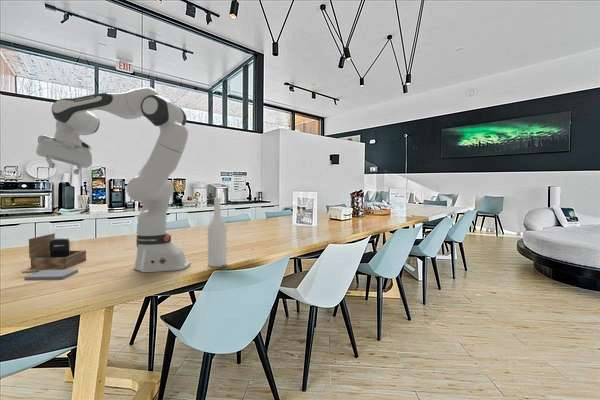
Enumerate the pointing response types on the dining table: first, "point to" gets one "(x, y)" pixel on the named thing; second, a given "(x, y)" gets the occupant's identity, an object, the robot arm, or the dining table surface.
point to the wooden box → (42, 257)
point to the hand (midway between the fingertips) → (64, 170)
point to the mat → (51, 274)
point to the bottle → (217, 238)
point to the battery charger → (60, 247)
